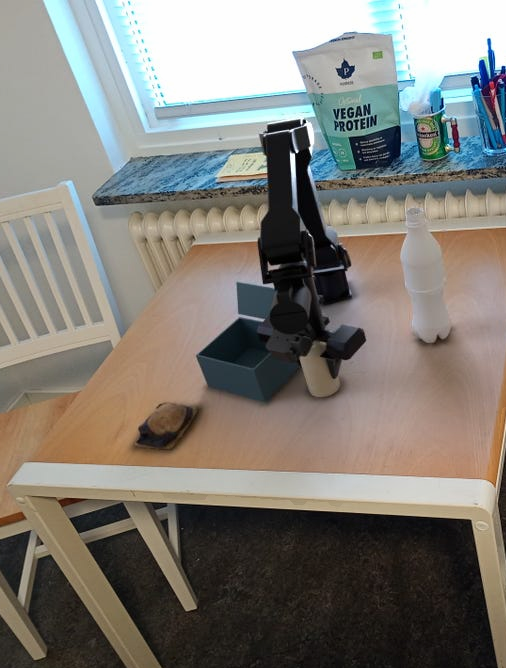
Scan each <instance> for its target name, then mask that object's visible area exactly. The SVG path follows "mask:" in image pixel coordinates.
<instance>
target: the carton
mask: <svg viewBox="0 0 506 668" xmlns="http://www.w3.org/2000/svg"><path fill="white" fill-rule="evenodd" d="M262 322H263V321H261V320H257V319H252V318H247V317H242V316H238V317H237V319H235V320H234V321H233V322H232V323H231V324H230V325H228V326H227V327H226V328H225V329H224V330H223V331H222V332H221V333H219V334H218V335H217V336H216V337H215V338H213V340H211V341H210V342H208V344H207V345H205V347H204V348H202V349H201V350H200V351H199V352H198V353H197V354H196V355H195V357H196V358H195V359H196V361H197V363H198V365H199V367H200V369H201V372H202V375H203V378H204V380H205V383H206V385H207V387H208V388H210V389H214V390H216V391H217V390H218V391H221V392H225V393H229V394H232V395H236V396H239V397H243V398H246V399H250V400H254V401H258V402H261V403H264V404H265V403H267V402H268V401H269V400H270V399H271V397H272V396H274V395H275V393H276V392H277V391H278V390H279V389H280V388H281V387H282V386H283V385H284V384H286V382H287V381H288V380H289V379H290V378H291V377H292V376H293V375H294V374H295V373H296V372H297V370H299V368H301V367H300V366H299V364H298V363H297V362H296V363H288V362H285V361H281V360H276V359H275V358H274V357H273V356H272V354H271V353H270V352H269V351H268V349H267V348H266V344H267V343H265V342H261V341H260V340H259V337H258V334H257V329H258V326H259V325H260V324H261V323H262Z"/></svg>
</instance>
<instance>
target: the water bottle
mask: <svg viewBox="0 0 506 668" xmlns="http://www.w3.org/2000/svg"><path fill="white" fill-rule="evenodd" d="M405 218H406V219H405V228H406V230H407V232H406V235H405V238H404V240H403V243H402V246H401V249H400V262H401V267H402V272H403V278H404V286H405V289H406V290H407V292H408V294H409V296H410V300H411V303H412V311H413V312H412V319H411V327H412V331H413V333H414V334H415V336H416V337H417V338H418V339H421V340H422V341H423V342H424V343H427V344H433V343H435V342H436V340H437V338H438V337H439V339H441V340H445V339H447V337H448V336H449V334H450V331H451V327H452V317H451V314H450V312H449V310H448V308H447V305H446V301H445V296H444V290H445V286H446V284H447V283H446V282H447V280H446V276H445V269H444V262H443V251H442V247H441V245H440V243H439V242H438V241H437V239H436V238H435V236H434V235H432V233H431V232H430V230H429V229H428V227H427V224H428V220H427V219H426V216H425V211H424V208H423V207H420V206H413V207H410V208H408V209H406V210H405Z"/></svg>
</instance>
